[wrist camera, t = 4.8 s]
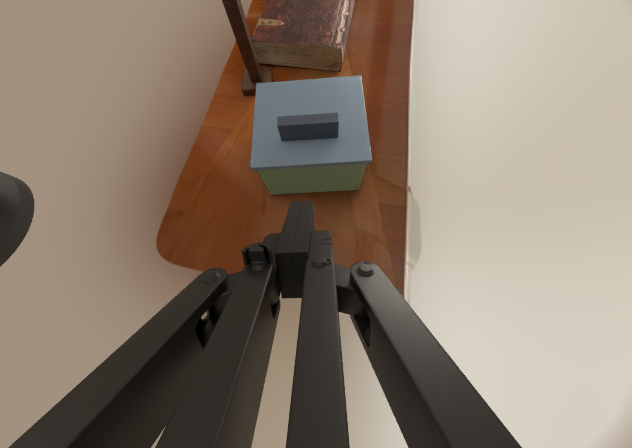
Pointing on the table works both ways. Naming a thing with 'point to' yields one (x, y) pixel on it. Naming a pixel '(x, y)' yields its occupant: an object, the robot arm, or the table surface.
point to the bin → (313, 179)
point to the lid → (310, 124)
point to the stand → (246, 49)
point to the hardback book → (303, 33)
